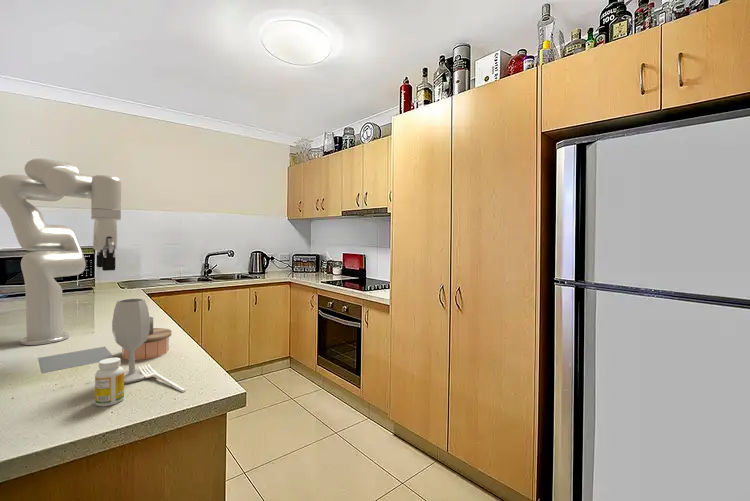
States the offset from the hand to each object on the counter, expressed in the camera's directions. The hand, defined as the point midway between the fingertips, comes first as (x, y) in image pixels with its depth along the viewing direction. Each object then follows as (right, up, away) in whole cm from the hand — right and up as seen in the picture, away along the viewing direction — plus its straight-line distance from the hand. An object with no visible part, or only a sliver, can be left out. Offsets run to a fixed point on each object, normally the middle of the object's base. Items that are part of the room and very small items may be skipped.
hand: (105, 268), depth 114 cm
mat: (-3, -27, -8) cm, 29 cm away
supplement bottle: (+25, -29, -32) cm, 50 cm away
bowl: (+14, -28, -2) cm, 31 cm away
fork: (+31, -29, -21) cm, 47 cm away
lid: (+14, -22, -2) cm, 26 cm away
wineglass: (+21, -29, -19) cm, 40 cm away
